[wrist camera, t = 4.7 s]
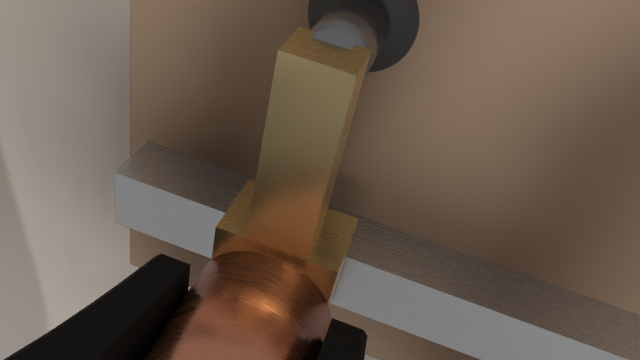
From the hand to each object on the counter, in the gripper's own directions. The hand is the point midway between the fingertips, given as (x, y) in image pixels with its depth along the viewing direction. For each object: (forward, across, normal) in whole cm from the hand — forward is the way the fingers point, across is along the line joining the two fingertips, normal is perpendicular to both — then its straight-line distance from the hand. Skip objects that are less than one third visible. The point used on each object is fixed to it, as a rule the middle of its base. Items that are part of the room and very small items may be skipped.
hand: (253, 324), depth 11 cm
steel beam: (+4, -6, +1) cm, 7 cm away
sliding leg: (+4, 0, -2) cm, 4 cm away
